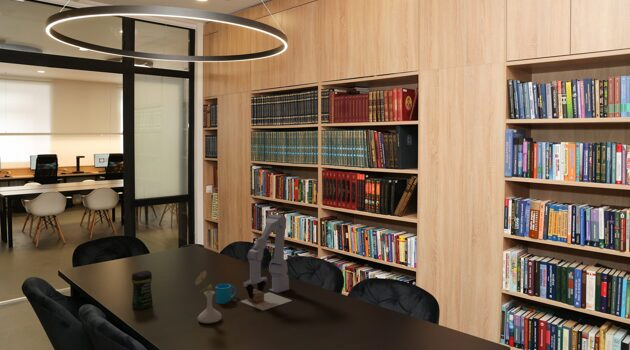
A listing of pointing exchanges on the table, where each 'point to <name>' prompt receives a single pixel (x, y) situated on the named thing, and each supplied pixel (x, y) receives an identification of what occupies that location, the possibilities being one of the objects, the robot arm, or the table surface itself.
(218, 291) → the mug
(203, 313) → the flower in vase
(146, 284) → the coffee jar
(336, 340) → the table surface
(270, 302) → the card mat
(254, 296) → the box
